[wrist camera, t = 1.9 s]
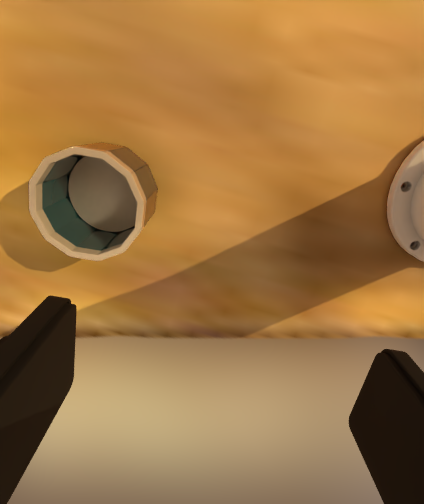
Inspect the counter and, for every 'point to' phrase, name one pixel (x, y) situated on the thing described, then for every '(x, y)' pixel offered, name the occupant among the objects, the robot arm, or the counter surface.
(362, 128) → the counter surface
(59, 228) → the teal cup
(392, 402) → the robot arm
